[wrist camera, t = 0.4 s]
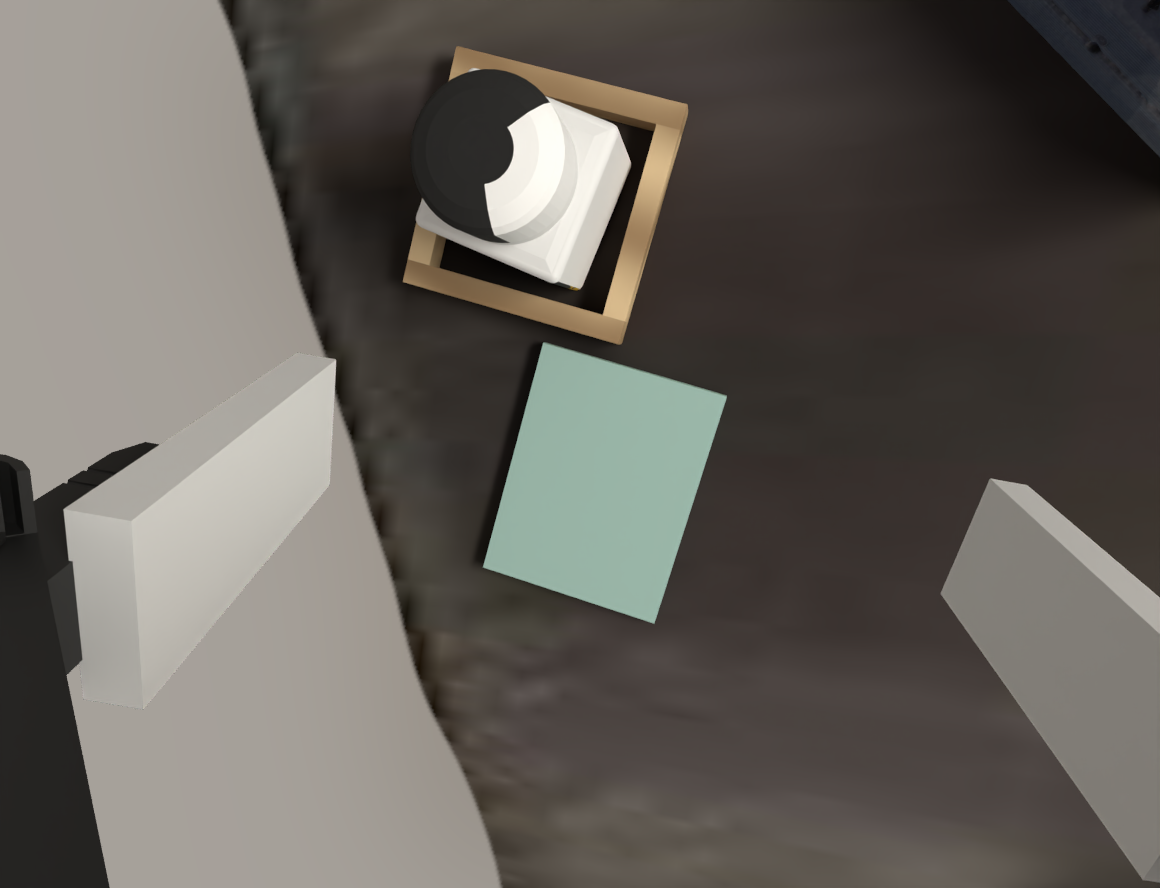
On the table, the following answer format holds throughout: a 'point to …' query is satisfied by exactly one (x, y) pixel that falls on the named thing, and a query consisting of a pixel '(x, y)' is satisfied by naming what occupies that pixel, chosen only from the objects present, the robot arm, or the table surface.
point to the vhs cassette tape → (1108, 52)
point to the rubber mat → (602, 480)
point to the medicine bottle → (517, 174)
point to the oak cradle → (659, 163)
